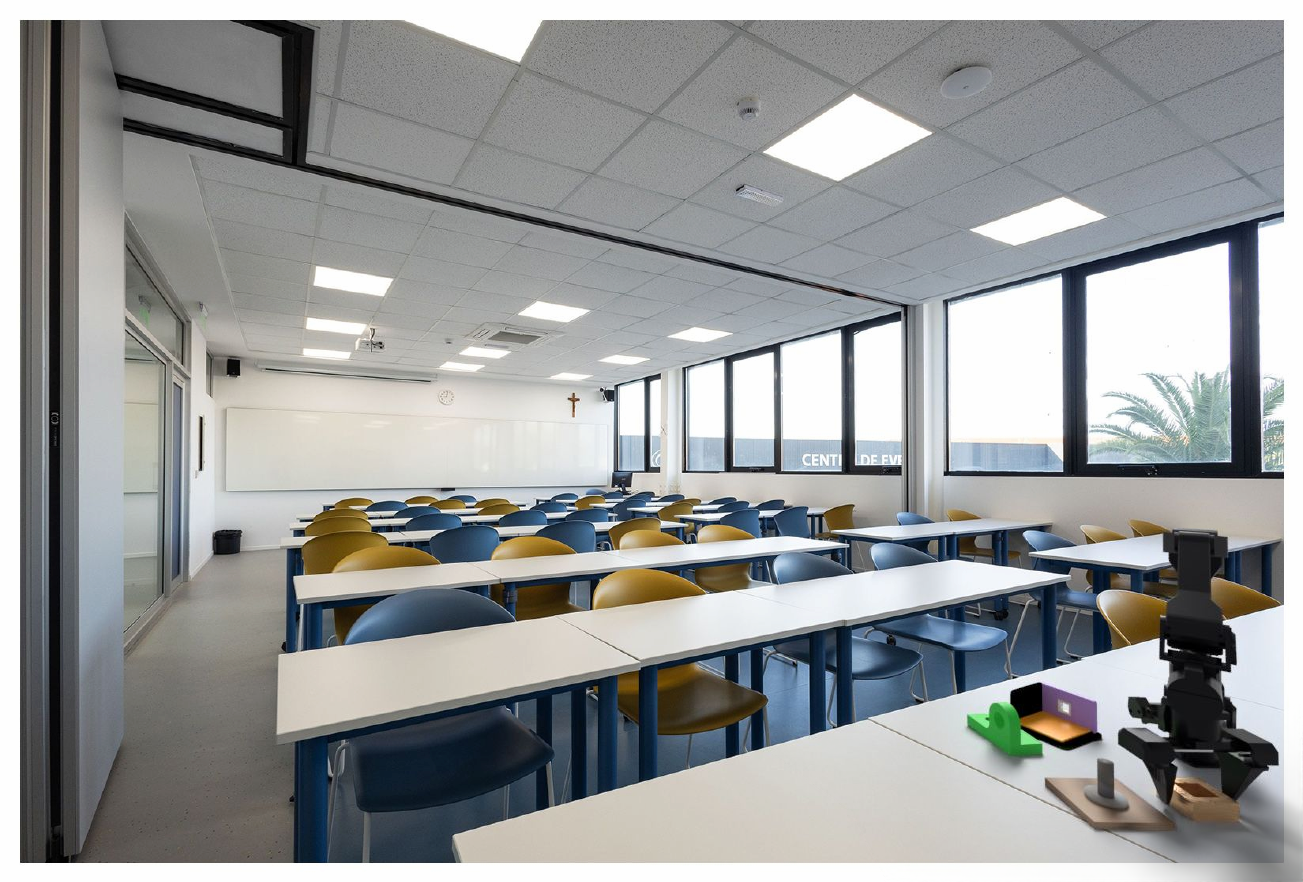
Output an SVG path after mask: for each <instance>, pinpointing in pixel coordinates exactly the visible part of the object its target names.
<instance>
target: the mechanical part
mask: <svg viewBox="0 0 1303 882" xmlns="http://www.w3.org/2000/svg"><path fill="white" fill-rule="evenodd" d="M966 721H967V722H966V724H967V725H968V727H970V728H971V729H973V730H974V731H975V732H977V733H978V734H979V735H980V736H982V737H983V738H985V739H986V740H988V741H989V742H991V743H993V744H994V745H995V746H997V747H998V748H999V749H1001V750H1002V751H1003V752H1005V753H1006V754H1008V756H1012V755H1013V756H1027V755H1029V756H1031V755H1043V743H1042V741H1040V740H1037V739H1035V738H1033V737H1032V736H1030V735H1029V734H1027V733H1026V732H1024V731H1023V730H1021V723H1020V719H1019V716H1018V713H1017V712H1016V710H1015V708H1014V707H1013V706H1012V705H1011V704H1010V702H1006V701H1004V702H1002V701H1001V702H993V703H991V704H990V706H989V710H988V713H985V712H984V713H983V712H982V713H967V714H966ZM1013 756H1012V757H1013Z"/></svg>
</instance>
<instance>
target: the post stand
mask: <svg viewBox="0 0 1303 882" xmlns="http://www.w3.org/2000/svg"><path fill="white" fill-rule="evenodd" d="M1096 763H1097V764H1096V772H1097V773H1096V777H1044V786H1045V787H1046V788H1047V789H1049V791H1051V792H1052V793H1053V794H1054V795H1055V796H1057V798H1059V799H1060V800H1061V801H1062V802H1063V803H1065V805H1067V807H1070V809H1072V810H1073V811H1074V812H1075V813H1076V814H1077V815H1078V816H1080V817H1081V819H1083V820H1084V822H1086V823H1088V825H1090V826H1091V827H1092V828H1093V829H1098V830H1099V829H1102V830H1103V829H1104V830H1139V831H1140V830H1144V831H1145V830H1147V831H1149V830H1150V831H1152V830H1153V831H1176V830H1177V825H1176V822H1174V820H1172V819H1170V818H1169V817H1168V816H1167V815H1166V814H1164V812H1161V811H1160V810H1159V809H1157V808H1156V807H1155V806H1154V805H1152V804H1151V803H1150V802H1149V801H1147V800H1146V799H1144V798H1143V797H1142V796H1141V795H1139V794H1138V793H1136V792H1135V791H1134V790H1132V788H1130V787H1128V786H1127V785H1126V784H1124V782H1122V781H1120V780H1119V779H1117V778H1115V763H1114V762H1113V760H1112V761H1111V760H1110V759H1107V758H1103V757H1099V758H1097V759H1096Z"/></svg>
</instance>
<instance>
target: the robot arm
mask: <svg viewBox="0 0 1303 882" xmlns="http://www.w3.org/2000/svg"><path fill="white" fill-rule="evenodd" d="M1218 533H1219V532H1218V530H1216V529H1200V528H1188V527H1174V526H1173V527H1172V528H1171V532H1167V531H1165V532H1164V531H1162V553H1167V555H1168V562H1169V564H1170V565H1171V567H1173V569H1174V571H1175V572H1176V573H1177V575H1176V577H1177V578H1176V579H1177V580H1176V581H1177V582H1176V595H1174V596H1173V597H1172V598H1169V599H1168V600H1167V601H1166V608H1165V611H1166V612H1165V615H1162V614H1160V617H1159V648H1158V649H1159V652H1158V659H1159V660H1160V661H1165V662H1168V679H1167V684H1166V683H1164V684H1163V695H1162V697H1161V698H1160V702H1153V701H1152V702H1150V701H1149V700H1148V699H1147V697H1145V696H1128V697H1127V709H1128V710H1127V711H1128V714H1129V715H1130V717H1131V718H1132V719H1139V720H1141V724H1142V725H1149V724H1151V725H1157V729H1158V730H1160V731H1162V732H1163V733H1168V736H1160V735H1158V733H1156V732H1154V731H1152V730H1151V729H1149V728H1147V727H1128V726H1127V727H1122V728H1120V729H1119V730H1118V732H1117V745H1118V746H1120V747H1121V748H1122V749H1124V750H1126V751H1128V752H1129V753H1130V754H1131V755H1133V756H1135V757H1136V758H1138V759H1140V760H1141V761H1142V763H1143V764H1144V765H1145V767H1146V769H1147V771H1148V773H1149V775H1150V778H1151V780H1152V782H1153V786H1154V787H1155V791H1156V790H1157V792H1158V795H1159V797H1160V798H1159V797H1158V798H1159V799H1160V801H1161V802H1162V803H1163V804H1165V805H1168V806H1170V805H1169V804H1170V802H1171V799H1172V795H1173V790H1174V785H1175V780H1176V778H1177V773H1178V770H1179V769H1178V768H1179V767H1178V766H1177V765H1175V764H1174V763H1173V762H1174V761H1175V760H1176V758H1178V759H1180V760H1181V761H1183V762H1185V763H1186V764H1187V765H1189V766H1191V767H1192V768H1197V769H1199V768H1200V769H1205V768H1206V769H1220V780H1221V781H1220V785H1221V786H1220V787H1221V792H1222V793H1223V794H1225V795H1227V796H1228V797H1230V798H1231V799H1233V800H1234V801H1236V802H1238V800H1239V798H1240V797H1241V796H1242V795H1243V794H1244V792H1245V791H1246V790H1247V789H1248V788H1249V786H1250V785H1252V784H1253V782H1255V780H1256V779H1257V778H1258V777H1260V776H1261V774H1262V773H1263V772H1269V770H1270V767H1271V766H1272V767H1273V766H1274V767H1276V766H1277V767H1279V765H1280V764H1279V763H1280V760H1279V751H1278V749H1277V748H1276V746H1275V745H1274V744H1273V743H1272V742H1270V741H1268V740H1266V739H1264V738H1262V737H1260V736H1258V735H1256V734H1254V733H1252V732H1250V731H1248V730H1246V729H1244V728H1237V707H1236V706H1235V705H1234V704H1233V701H1232V700H1231V696H1225V695H1226V692H1225V691H1226V690H1225V684H1224V683H1223V682H1222V672H1224V673H1232V665H1233V666H1237V665H1238V664H1237V663H1238V662H1237V661H1238V656H1237V638H1236V637H1237V635H1236V633H1235V632H1234V631H1233V630H1232V627H1231V626H1230V625H1228V624H1224V617H1223V616H1224V615H1223V614H1224V612H1223V608H1222V607H1220V606H1219V604H1217V603H1216V602H1215V601H1214V600H1213V599H1212V580H1213V578H1215V576H1216V574H1217V573H1219V571H1220V570H1221V569H1222V567H1223V559H1228V558H1229V537H1228V536H1225V535H1224V536H1223V535H1218ZM1166 646H1168V647H1169V648H1168V649H1167V651H1166ZM1165 651H1166V652H1165ZM1223 655H1225V657H1224V658H1225V661H1224V662H1223V661H1222V659H1223V658H1222V657H1219V656H1223Z"/></svg>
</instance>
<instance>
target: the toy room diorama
mask: <svg viewBox="0 0 1303 882" xmlns="http://www.w3.org/2000/svg"><path fill="white" fill-rule="evenodd" d="M1009 703H1010V704H1011V705H1012V706H1013V707H1014V708H1015V710H1016V712H1017V713H1018V716H1019V719H1020V723H1021V730H1023V731H1024V732H1026V733H1027V734H1029V735H1030V736H1032V737H1033V738H1035V739H1036V740H1038V741H1040V742H1043V743H1046V744H1048V745H1051V746H1053V747H1056V748H1057V749H1060V750H1064V751H1071V750H1074V749H1076V748H1079V747H1082V746H1084V745H1087V744H1090V743H1092V742H1097V741H1099V740H1101V739H1102V738H1103V735H1102V733H1100V732H1098V702H1097V701H1096V700H1094V699H1092V698H1089V697H1086V696H1083V695H1082V694H1081V695H1080V694H1078V693H1074V692H1072V691H1070V690H1066V689H1063V688H1060V687H1057V686H1056V685H1055V686H1054V685H1052V684H1049V683H1045V682H1040V681H1038V682H1033V683H1030V684H1028V685H1023V686H1022V687H1018V688H1017V687H1016V688H1015V689H1012V690H1010V692H1009ZM1064 704H1065V705H1068V710H1066V709H1064V706H1063V705H1064Z"/></svg>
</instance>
